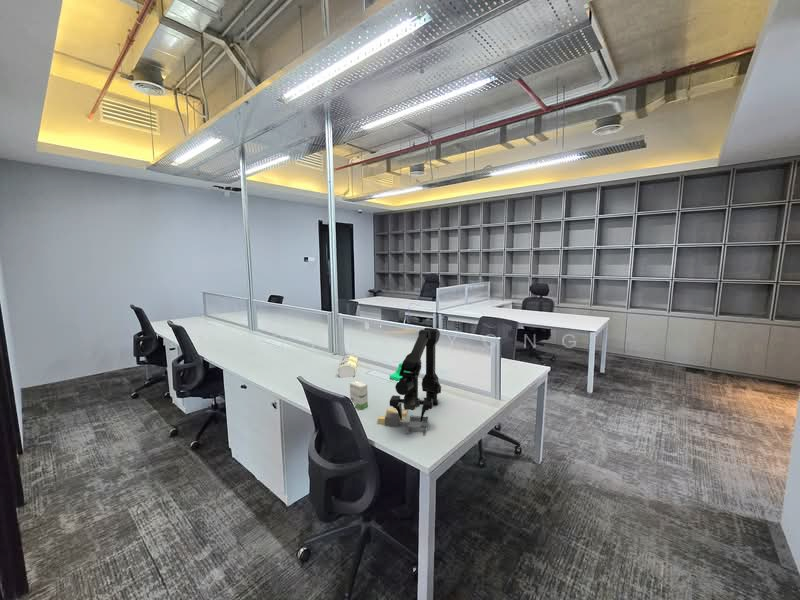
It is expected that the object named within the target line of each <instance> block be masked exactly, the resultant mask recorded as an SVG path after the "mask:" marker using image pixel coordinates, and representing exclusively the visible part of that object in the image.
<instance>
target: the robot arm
mask: <svg viewBox="0 0 800 600" xmlns="http://www.w3.org/2000/svg"><path fill="white" fill-rule="evenodd" d="M440 337H441V332H440V330H439V329H438V328H435V327H434V328H432V327H425V328H424V329H420V330H419V331H418V336H417V338H416V340H415V343H414V345H413V348H412V349H411V352H410V353H408V354H407V355H406V356H405V358H404V360H402V362H401V363H402V367H401V370H400V374H399V376H402V378H400V381H399V382H396V384H395V387H394V388H395V392H396V393H397V394H399V395H392V396H391V397H390V399H389V406H390V407H392V409H397V411H398V414H399V416H400V419H401V420H400V421H403V420H402V406H403V409H404V410H408V411H415V410H416V408H418V407H419V408H420V406H422V407H421V414H420V416H421V422H420V423H423V422H422V419H423V417H425V416H424V415H425V413H426V411H429V410H432V409H433V406H438V405H439V399H438V395H439V394H441V393H442V386H441V383H440V382H439V380H440V379H439V377H438V374H437V373H436V345H437V343H438V342H439V339H440ZM424 351H425V374H424V376H423V377H422V379H421V389H422V392H425V395H426V396H425V397H423V400H422V399H420V397H419V375H420V373H421V370H422V360H421V359H422V356H423V353H424ZM404 371H407V372H404ZM408 372H409V373H408ZM401 396H404V397H403V398H401Z"/></svg>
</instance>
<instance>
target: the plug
mask: <svg viewBox="0 0 800 600" xmlns="http://www.w3.org/2000/svg"><path fill="white" fill-rule="evenodd" d="M377 425H384V426H386V427H394V428H395V427H396V428H398V427H399V426H407V427H408V425H411V421H405V420H400V416H399V414H398V413H387V414H386V416H384V415H378V417H377Z"/></svg>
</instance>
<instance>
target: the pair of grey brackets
mask: <svg viewBox="0 0 800 600" xmlns="http://www.w3.org/2000/svg"><path fill="white" fill-rule="evenodd" d="M428 421H429V416H428V415H427V416H423V419H422V422H421V415H412V414H411V415H410V416H409V422H416V423H428ZM406 428H407V429H406V435H410V432H419V433H422V435H423V436H426V434H427V425H417V424H410V425H408V426H407V427H406Z"/></svg>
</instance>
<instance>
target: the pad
mask: <svg viewBox="0 0 800 600" xmlns="http://www.w3.org/2000/svg"><path fill="white" fill-rule="evenodd" d="M408 411H409V410H405V409H404V408H403V409H402V420H401V419H400V421H406V418H407V414H408ZM387 413H398V411H397V409H396V408H386V412H385V413H384V415H383V416H386V414H387Z"/></svg>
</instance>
